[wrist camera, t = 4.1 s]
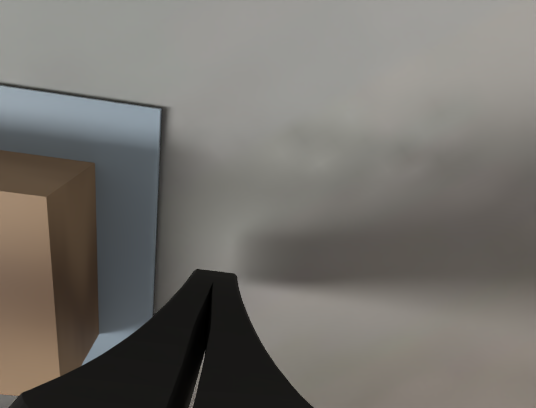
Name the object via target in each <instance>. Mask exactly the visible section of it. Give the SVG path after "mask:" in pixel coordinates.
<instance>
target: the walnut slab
mask: <svg viewBox="0 0 536 408" xmlns="http://www.w3.org/2000/svg"><path fill="white" fill-rule="evenodd" d="M98 335H99V311H98V269H97V227H96V185H95V163H92V162H85V161H77V160H70V159H63V158H55V157H48V156H41V155H33V154H26V153H18V152H11V151H4V150H0V394H4V395H14V396H19V395H20V394H21V393H22V392H25V391H27V390H30V389H32V388H35V387H37V386H39V385H41V384H44V383H46V382H48V381H51V380H53V379H55V378H58V377H60V376H62V375H64V374H66V373H68V372H70V371H72V370H74V369H76V368H78V367H80V366H81V365H82V363H83V362H84V360H85V358H86V356H87V355H88V353H89V351H90V349H91V348H92V346H93V344H94V342H95V341H96V339H97V337H98Z"/></svg>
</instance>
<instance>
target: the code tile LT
mask: <svg viewBox="0 0 536 408" xmlns="http://www.w3.org/2000/svg"><path fill="white" fill-rule="evenodd" d="M161 112H162V109H161V108H154V107H148V106H141V105H134V104H127V103H120V102H114V101H107V100H100V99H93V98H86V97H80V96H73V95H66V94H59V93H52V92H46V91H39V90H32V89H25V88H18V87H12V86H5V85H0V150H4V151H11V152H18V153H26V154H33V155H41V156H48V157H55V158H63V159H70V160H77V161H85V162H92V163H95V185H96V227H97V269H98V311H99V335H98V337H97V339H96V341H95V342H94V344H93V346H92V348H91V349H90V351H89V353H88V355H87V356H86V358H85V360H84V362H83V363H82V365H84V364H86V363H88V362H89V361H91V360H93V359H95V358H97V357H98V356H100V355H102V354H103V353H105V352H106V351H108V350H110V349H111V348H112V347H114V346H115V345H117V344H118V343H120V342H121V341H123V340H124V339H126V338H127V337H128V336H130V335H131V334H132V333H134V332H135V331H136V330H137V329H139V328H140V327H141V326H142V325H144V324H145V323H146V322H147V321H148V320H149V319H151V318H152V317H153V301H154V277H155V254H156V230H157V206H158V183H159V159H160V136H161ZM82 365H81V366H82Z"/></svg>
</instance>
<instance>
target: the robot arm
mask: <svg viewBox="0 0 536 408" xmlns="http://www.w3.org/2000/svg"><path fill="white" fill-rule="evenodd" d="M204 352H205V358H204V363H203V367H202V372H201V376H200V381H199V385H198V389H197V394H196V398H195V402H194V406H193V408H313V407H312V406H311V405H310V404H309V403H308V402H307V401H306V400H305V399H304V398H303V397H302V396H301V395H300V394H299V393H298V392H297V391H296V390H295V389H294V387H293V386H292V385H291V384H290V382H289V381H288V380H287V379H286V377H285V376H284V375H283V374H282V372H281V371H280V370H279V369H278V367H277V366H276V365H275V363H274V362H273V360H272V359H271V357H270V356H269V354H268V353H267V351H266V349H265V348H264V346H263V345H262V343H261V341H260V339H259V337H258V336H257V334H256V332H255V330H254V328H253V326H252V323H251V321H250V319H249V317H248V314H247V312H246V309H245V307H244V304H243V301H242V298H241V295H240V291H239V287H238V281H237V276H236V275H235V274H234V273H225V272H217V271H209V270H200V269H197V270H195V271H194V272H193V273H192V274H191V276H190V277H189V279H188V280H187V281H186V282H185V284H184V285H183V286H182V287H181V288H180V290H179V291H178V292H177V293H176V294H175V295H174V296H173V297H172V298H171V299H170V300H169V301H168V302H167V303H166V305H164V306H163V307H162V308H161V309H160V310H159V311H158V312H157V313H156V314H155V315H154V316H153V317H152V318H151V319H149V320H148V321H147V322H146V323H145V324H144V325H142V326H141V327H140V328H139V329H137V330H136V331H135V332H134V333H132V334H131V335H130V336H128V337H127V338H126V339H124V340H123V341H121V342H120V343H118V344H117V345H115V346H114V347H112V348H111V349H110V350H108V351H106V352H105V353H103V354H102V355H100V356H98V357H97V358H95V359H93V360H91V361H89V362H88V363H86V364H84V365H82V366H80V367H78V368H76V369H74V370H72V371H70V372H68V373H66V374H64V375H62V376H60V377H58V378H55V379H53V380H51V381H48V382H46V383H44V384H41V385H39V386H37V387H35V388H32V389H30V390H27V391H25V392H22V393H21V394H20V395H19V396H18V398H17V399H16V400H15V401H14V402H13V404H12V405H11V406H10V407H9V408H189V405H190V401H191V398H192V394H193V391H194V387H195V384H196V380H197V377H198V373H199V370H200V366H201V363H202V359H203V356H204Z"/></svg>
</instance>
